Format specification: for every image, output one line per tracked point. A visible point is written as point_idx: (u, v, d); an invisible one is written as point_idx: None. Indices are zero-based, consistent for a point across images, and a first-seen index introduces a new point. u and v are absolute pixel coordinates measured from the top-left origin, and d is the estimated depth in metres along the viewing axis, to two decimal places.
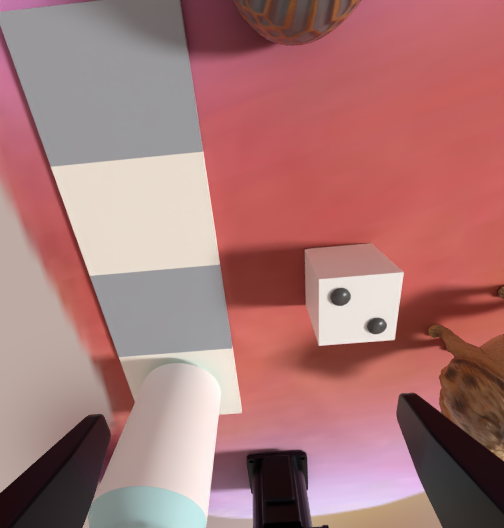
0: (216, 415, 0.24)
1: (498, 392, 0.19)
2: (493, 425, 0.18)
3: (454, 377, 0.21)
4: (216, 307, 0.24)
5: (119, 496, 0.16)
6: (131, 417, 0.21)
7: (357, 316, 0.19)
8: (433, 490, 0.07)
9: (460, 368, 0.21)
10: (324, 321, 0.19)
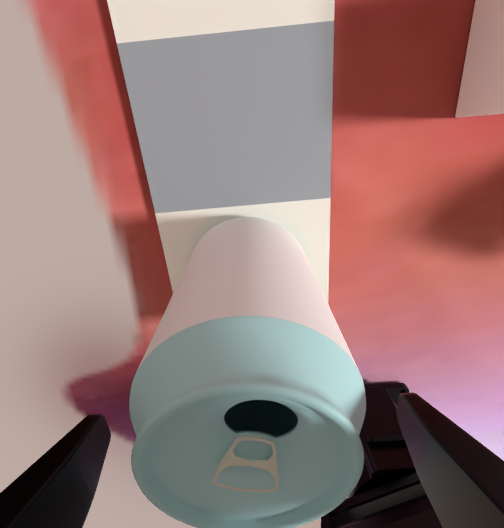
0: None
1: None
2: None
3: None
4: (317, 114, 0.15)
5: (207, 334, 0.07)
6: (189, 268, 0.12)
7: None
8: (433, 490, 0.07)
9: None
10: None
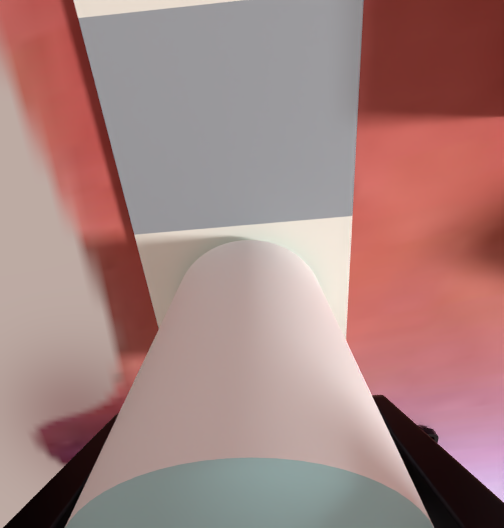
0: None
1: None
2: None
3: None
4: (338, 111, 0.12)
5: (176, 499, 0.04)
6: (170, 316, 0.09)
7: None
8: None
9: None
10: None
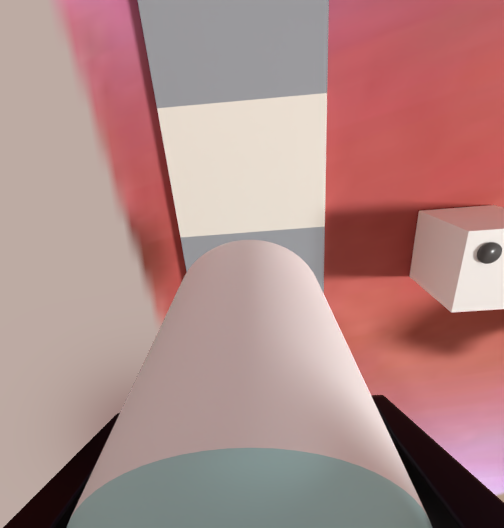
0: None
1: None
2: None
3: None
4: None
5: (178, 486, 0.04)
6: (172, 314, 0.09)
7: (501, 278, 0.16)
8: None
9: None
10: (464, 283, 0.17)
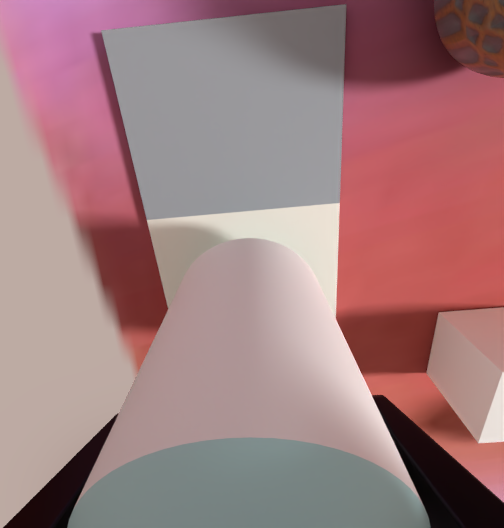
0: None
1: None
2: None
3: None
4: None
5: (179, 475, 0.04)
6: (172, 311, 0.10)
7: None
8: None
9: None
10: (493, 417, 0.15)
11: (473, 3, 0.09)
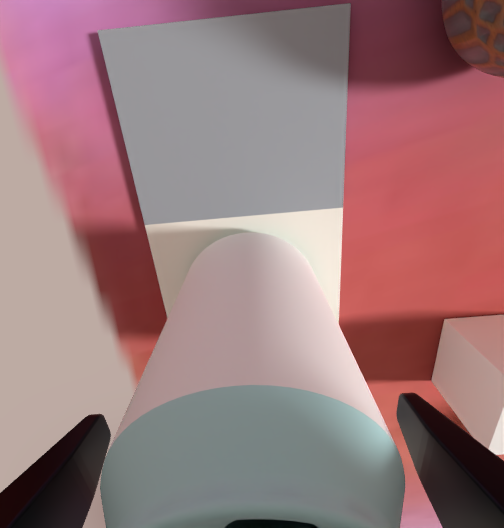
0: None
1: None
2: None
3: None
4: None
5: (198, 413, 0.05)
6: (182, 297, 0.11)
7: None
8: (433, 490, 0.07)
9: None
10: (502, 429, 0.14)
11: (484, 1, 0.09)
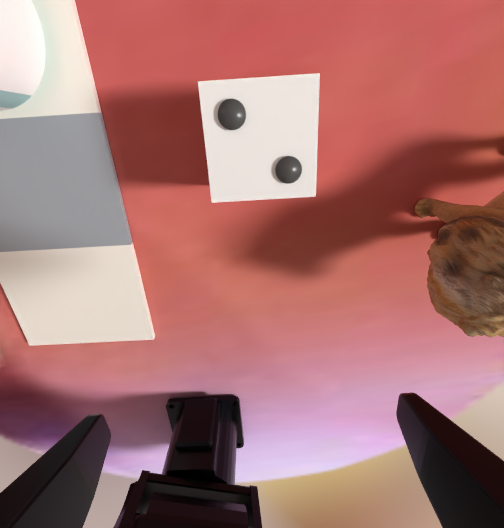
0: None
1: None
2: (502, 280, 0.12)
3: (448, 238, 0.15)
4: (103, 181, 0.18)
5: None
6: None
7: (259, 153, 0.13)
8: (433, 490, 0.07)
9: (455, 226, 0.15)
10: (214, 159, 0.13)
11: None
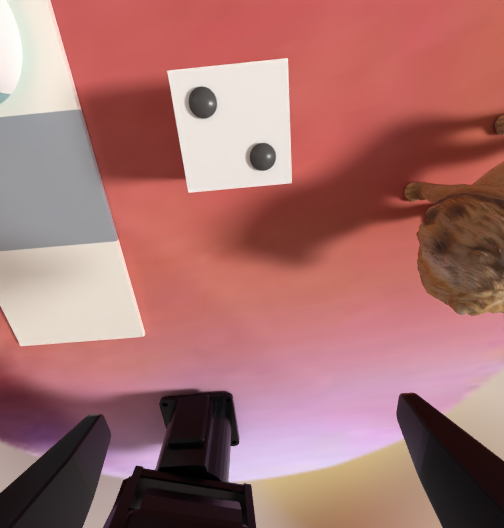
0: None
1: (495, 213, 0.13)
2: (489, 255, 0.12)
3: (435, 218, 0.15)
4: (85, 177, 0.18)
5: None
6: None
7: (233, 141, 0.13)
8: (433, 490, 0.07)
9: (442, 205, 0.15)
10: (188, 149, 0.13)
11: None
